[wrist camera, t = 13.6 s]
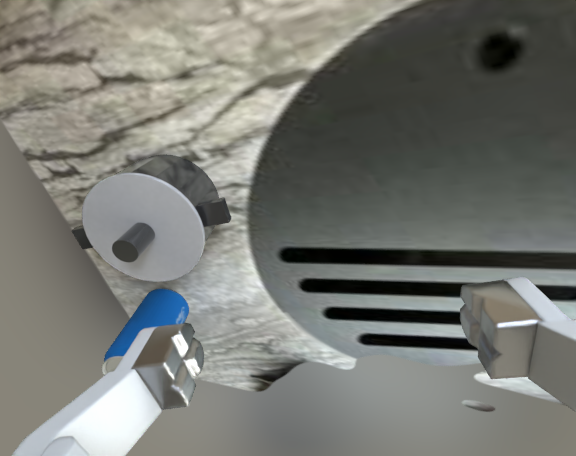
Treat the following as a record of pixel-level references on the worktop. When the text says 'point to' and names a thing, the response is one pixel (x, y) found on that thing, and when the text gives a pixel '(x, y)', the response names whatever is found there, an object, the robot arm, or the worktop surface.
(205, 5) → the worktop surface
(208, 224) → the pot
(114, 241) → the pot lid
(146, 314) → the beverage can
